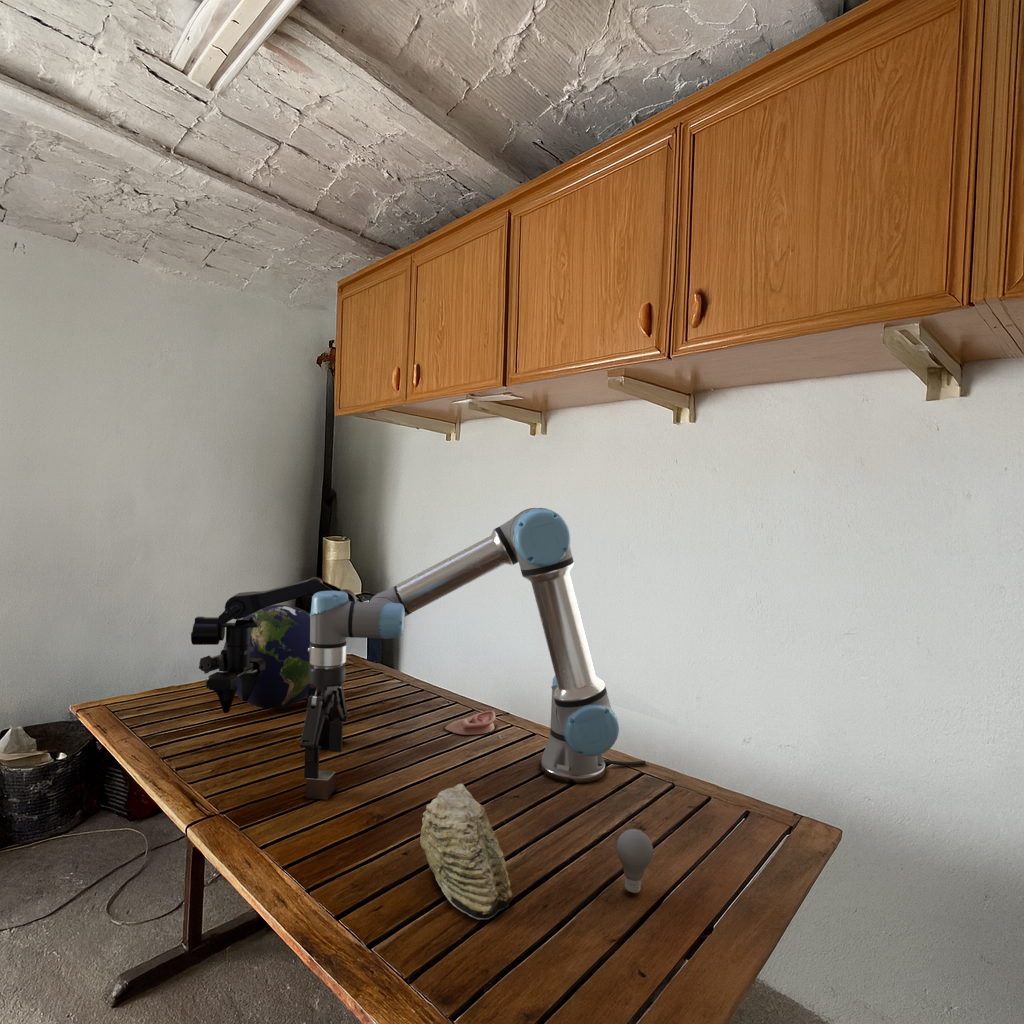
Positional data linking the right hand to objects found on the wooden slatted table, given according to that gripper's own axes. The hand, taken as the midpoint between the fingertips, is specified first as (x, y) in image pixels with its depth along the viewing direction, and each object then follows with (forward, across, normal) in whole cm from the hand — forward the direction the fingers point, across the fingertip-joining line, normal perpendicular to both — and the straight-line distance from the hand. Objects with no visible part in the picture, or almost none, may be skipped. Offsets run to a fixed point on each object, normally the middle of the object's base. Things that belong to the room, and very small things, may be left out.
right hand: (323, 764), depth 135 cm
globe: (+7, -51, -34) cm, 62 cm away
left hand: (-4, -21, -31) cm, 37 cm away
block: (+7, 0, -1) cm, 7 cm away
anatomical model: (+7, -45, +25) cm, 52 cm away
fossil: (+7, +28, +34) cm, 45 cm away
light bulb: (+7, +24, +63) cm, 67 cm away
